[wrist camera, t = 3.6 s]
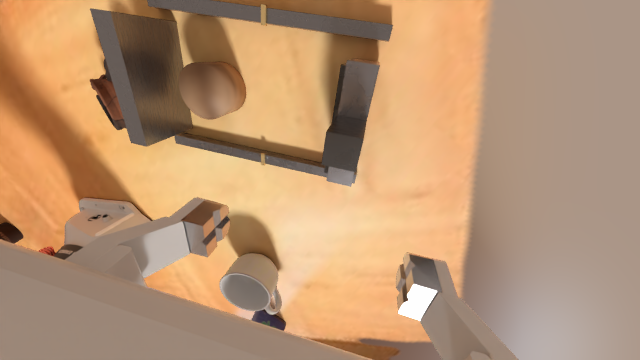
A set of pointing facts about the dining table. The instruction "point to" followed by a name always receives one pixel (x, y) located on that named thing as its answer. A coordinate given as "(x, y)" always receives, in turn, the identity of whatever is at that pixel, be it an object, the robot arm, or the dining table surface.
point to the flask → (269, 319)
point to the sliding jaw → (349, 120)
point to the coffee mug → (10, 233)
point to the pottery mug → (108, 98)
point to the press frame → (166, 65)
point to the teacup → (252, 283)
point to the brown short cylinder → (212, 89)
